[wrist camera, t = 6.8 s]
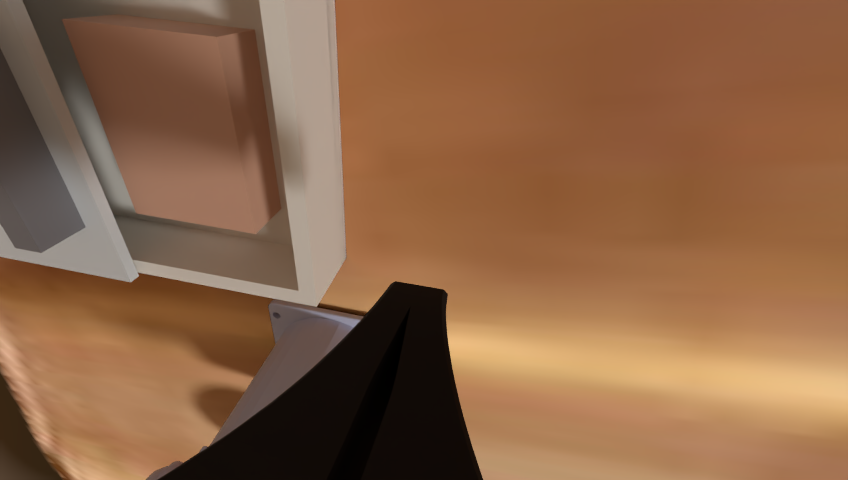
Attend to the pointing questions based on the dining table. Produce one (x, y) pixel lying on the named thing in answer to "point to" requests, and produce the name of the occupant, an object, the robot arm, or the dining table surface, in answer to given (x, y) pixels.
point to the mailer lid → (48, 167)
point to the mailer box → (210, 134)
